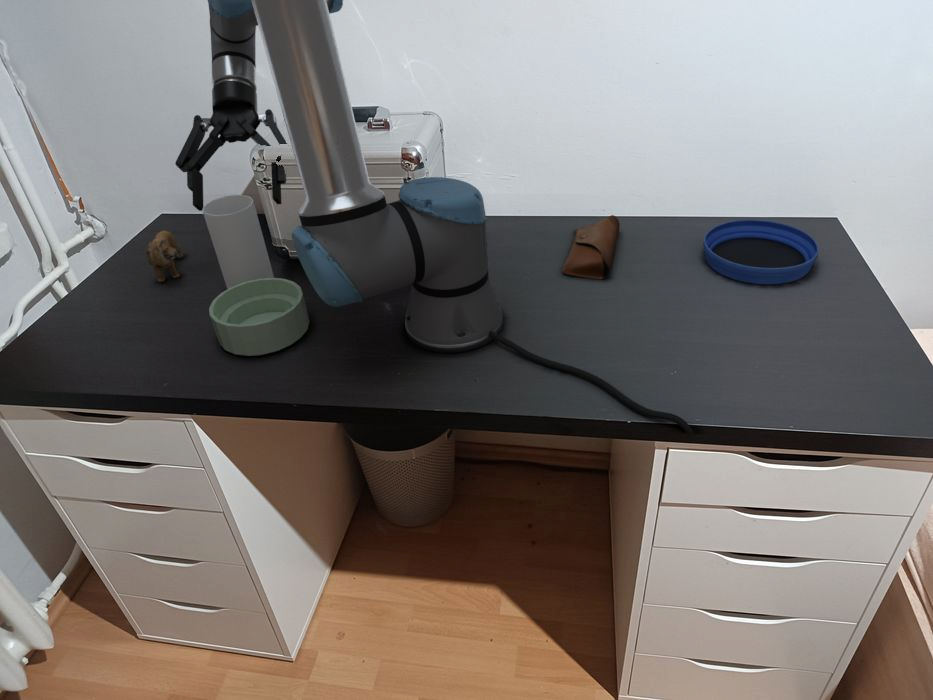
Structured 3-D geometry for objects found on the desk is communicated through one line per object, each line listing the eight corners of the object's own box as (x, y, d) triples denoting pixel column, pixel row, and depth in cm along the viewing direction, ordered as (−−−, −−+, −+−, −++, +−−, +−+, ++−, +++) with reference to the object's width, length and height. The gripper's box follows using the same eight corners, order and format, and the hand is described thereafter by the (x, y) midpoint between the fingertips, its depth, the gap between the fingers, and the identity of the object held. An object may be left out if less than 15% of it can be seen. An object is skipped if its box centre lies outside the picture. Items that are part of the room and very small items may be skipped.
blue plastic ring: (796, 236, 123) (801, 218, 121) (828, 287, 109) (834, 267, 107) (693, 237, 126) (696, 219, 124) (711, 288, 111) (714, 269, 109)
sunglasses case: (574, 227, 131) (593, 200, 127) (605, 246, 132) (625, 219, 127) (560, 274, 117) (580, 245, 113) (594, 294, 118) (616, 266, 114)
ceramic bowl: (328, 322, 111) (320, 290, 107) (262, 369, 102) (252, 336, 98) (267, 300, 118) (259, 270, 114) (201, 342, 108) (189, 311, 105)
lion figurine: (188, 284, 124) (172, 240, 119) (157, 291, 123) (140, 247, 118) (183, 251, 136) (169, 209, 130) (155, 257, 134) (139, 215, 129)
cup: (284, 278, 124) (262, 195, 114) (261, 302, 117) (236, 216, 108) (244, 275, 126) (219, 193, 116) (219, 298, 119) (192, 214, 110)
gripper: (310, 95, 124) (315, 206, 121) (173, 107, 124) (174, 218, 121) (299, 72, 117) (304, 190, 113) (154, 84, 117) (155, 202, 113)
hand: (237, 204), depth 117 cm, fingers open, 13 cm apart
